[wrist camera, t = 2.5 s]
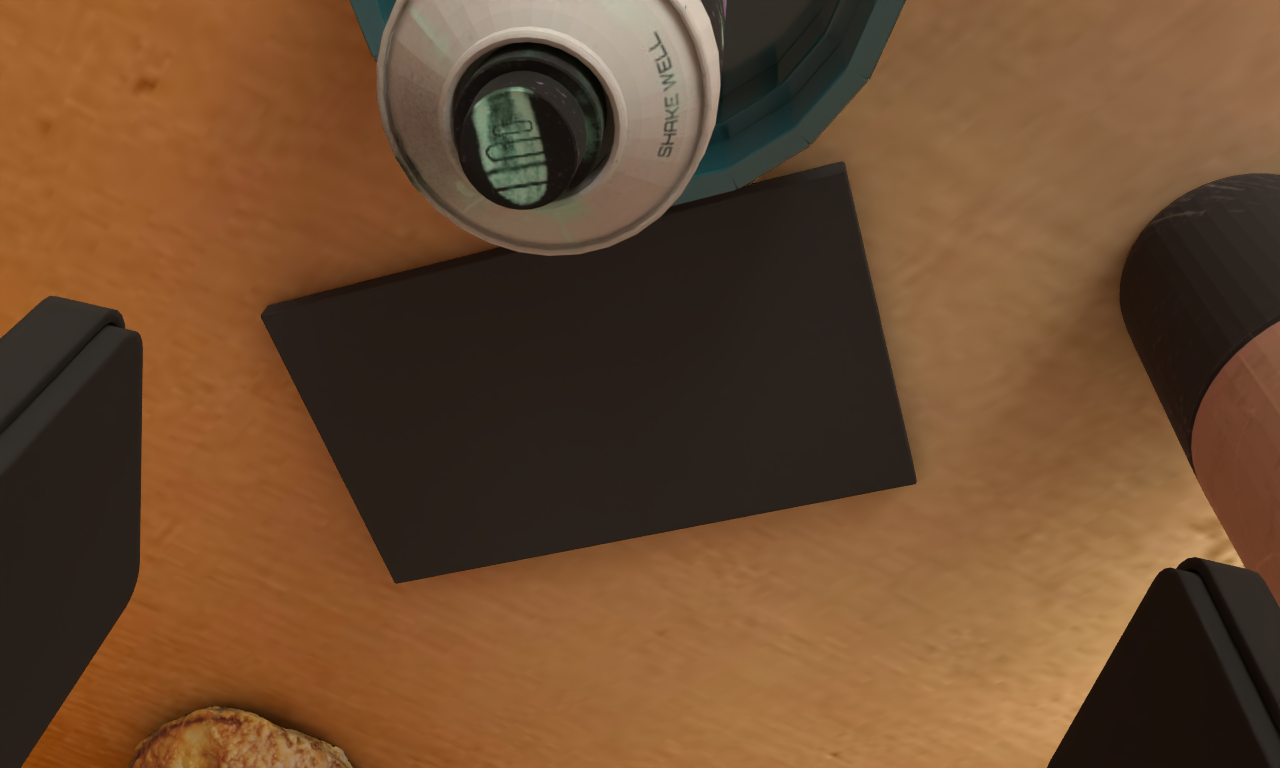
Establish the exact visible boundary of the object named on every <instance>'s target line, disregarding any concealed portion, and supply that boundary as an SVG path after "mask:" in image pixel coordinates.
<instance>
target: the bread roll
mask: <svg viewBox="0 0 1280 768" xmlns="http://www.w3.org/2000/svg"><path fill="white" fill-rule="evenodd" d="M221 707H222V706H221ZM221 707H217V706H214V707H208V708H206V709H204V708H203V709H201V710H196V711H194V712H192V713H191V714H189V715H188V714H185V716H184V717H181V718H179V719H177V720H173V721H170V722H167V723H164V724H163V725H162V726H161V727H160V728H159V730H158V731H157V732H155V733H153V734H151V735H149V736H148V737H147V738H146V739H144V740H142V741H141V742H140V743H139V745H138V746H137V747H136V748H135V750H134V758H133V759H132V760H131V762H130V764H129V768H353V767H352V766H351V764H350V762H348V759H347V757H346V756H345V755H344V751H343V749H340V748H337V747H332V746H331V745H330V744H328V743H326V742H324V741H323V740H322V741H319V740H317V739H318V738H315V737H312V736H311V737H310V736H309V735H307V736H306V735H305V734H304V733H300V732H298V731H297V730H292V729H285V728H283V727H281V726H280V727H279V726H277V725H275V724H273V723H271V721H268V720H266V719H264V718H263V717H259V716H258V715H257V714H254V713H251V712H244V710H240V709H233V708H227V707H223V708H221Z"/></svg>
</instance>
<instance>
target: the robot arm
mask: <svg viewBox="0 0 1280 768" xmlns="http://www.w3.org/2000/svg"><path fill="white" fill-rule="evenodd" d="M142 368H143V346H142V339H141V336H140V334H139V333H138V332H136V331H132V330H128V329H125V323H124V320H123V317H122V314H120V313H119V312H118V311H117V310H114V309H109V308H105V307H101V306H96V305H92V304H88V303H83V302H79V301H74V300H70V299H66V298H61V297H57V296H49V297H48V298H46V299H44V300H43V301H41V302H40V303H39V304H38V305H37V306H36V307H35V308H34V309H33V310H31V311H30V312H29V313H28V314H27V315H26V316H25V317H24V318H23V319H22V320H20V321H19V322H18V323H17V324H16V325H15V326H14V327H13V328H12V329H11V330H9V331H8V332H7V333H6V334H5V335H4V336H3V337H2V338H1V339H0V768H21V766H22V765H23V763H24V762H25V760H26V759H27V757H28V756H29V754H30V753H31V751H32V750H33V748H34V747H35V745H36V744H37V742H38V741H39V739H40V737H41V736H42V734H43V733H44V731H45V730H46V728H47V727H48V725H49V724H50V722H51V721H52V719H53V718H54V716H55V715H56V713H57V711H58V710H59V708H60V707H61V705H62V704H63V702H64V701H65V699H66V698H67V696H68V695H69V693H70V692H71V690H72V689H73V687H74V686H75V684H76V682H77V681H78V679H79V678H80V676H81V675H82V673H83V672H84V670H85V669H86V667H87V666H88V664H89V663H90V661H91V660H92V658H93V656H94V655H95V653H96V652H97V650H98V649H99V647H100V646H101V644H102V643H103V641H104V640H105V638H106V637H107V635H108V634H109V632H110V631H111V629H112V627H113V626H114V624H115V623H116V621H117V620H118V618H119V617H120V615H121V614H122V612H123V611H124V609H125V608H126V606H127V604H128V602H129V600H130V598H131V596H132V594H133V591H134V588H135V585H136V582H137V578H138V573H139V565H140V509H141V439H142ZM1047 768H1280V607H1279V605H1278V604H1277V602H1276V600H1275V598H1274V596H1273V595H1272V593H1271V591H1270V589H1269V588H1268V586H1267V584H1266V582H1265V581H1264V579H1263V578H1262V577H1261V576H1260V575H1259V573H1257V572H1254V571H1252V570H1249V569H1245V568H1240V567H1236V566H1231V565H1227V564H1223V563H1218V562H1214V561H1210V560H1205V559H1201V558H1197V557H1193V558H1188V559H1186V560H1185V561H1183V562H1182V563H1181V564H1179V566H1178V567H1177V568H1176V569H1174V568H1165V569H1163V570H1162V571H1161V572H1159V574H1158V575H1157V576H1156V578H1155V579H1154V581H1153V582H1152V584H1151V586H1150V588H1149V589H1148V591H1147V593H1146V595H1145V596H1144V598H1143V600H1142V602H1141V603H1140V605H1139V607H1138V608H1137V610H1136V612H1135V614H1134V615H1133V617H1132V619H1131V621H1130V622H1129V624H1128V626H1127V628H1126V629H1125V631H1124V633H1123V635H1122V636H1121V638H1120V640H1119V642H1118V643H1117V645H1116V647H1115V649H1114V650H1113V652H1112V654H1111V656H1110V657H1109V659H1108V661H1107V663H1106V664H1105V666H1104V668H1103V670H1102V671H1101V673H1100V675H1099V677H1098V678H1097V680H1096V682H1095V684H1094V685H1093V687H1092V689H1091V691H1090V692H1089V694H1088V696H1087V698H1086V699H1085V701H1084V703H1083V705H1082V706H1081V708H1080V710H1079V711H1078V713H1077V715H1076V717H1075V718H1074V720H1073V722H1072V724H1071V725H1070V727H1069V729H1068V731H1067V732H1066V734H1065V736H1064V738H1063V739H1062V741H1061V743H1060V745H1059V746H1058V748H1057V750H1056V752H1055V753H1054V755H1053V757H1052V759H1051V760H1050V762H1049V764H1048V767H1047Z"/></svg>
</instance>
